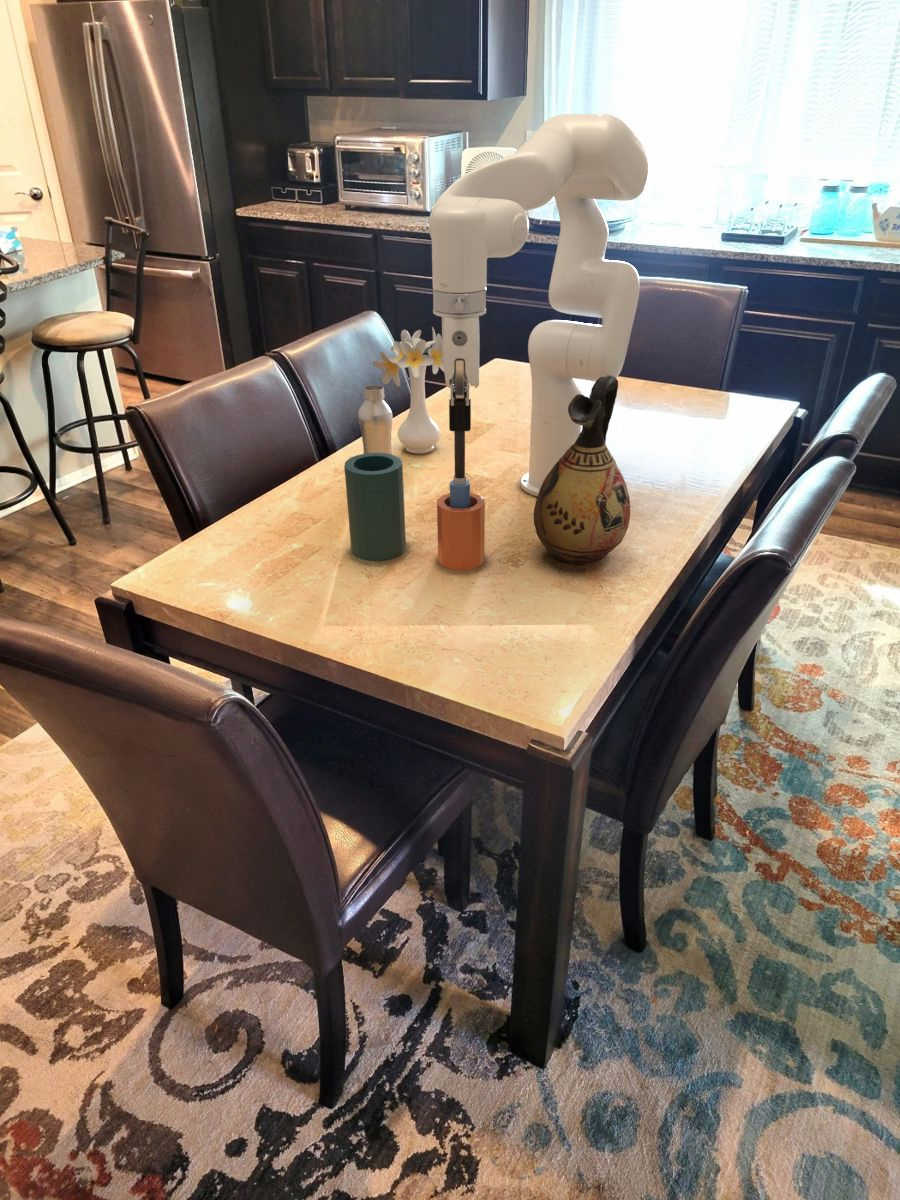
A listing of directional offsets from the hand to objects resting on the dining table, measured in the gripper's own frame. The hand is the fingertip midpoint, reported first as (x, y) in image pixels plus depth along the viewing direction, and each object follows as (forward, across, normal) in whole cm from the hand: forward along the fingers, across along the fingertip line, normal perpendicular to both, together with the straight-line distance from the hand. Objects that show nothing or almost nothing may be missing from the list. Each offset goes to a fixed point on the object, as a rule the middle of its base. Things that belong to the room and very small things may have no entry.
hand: (460, 427), depth 129 cm
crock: (+23, 0, 0) cm, 23 cm away
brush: (+17, 0, 0) cm, 17 cm away
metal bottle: (+23, +31, +16) cm, 42 cm away
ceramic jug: (+24, +2, -20) cm, 31 cm away
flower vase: (+23, +51, +9) cm, 57 cm away
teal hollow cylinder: (+23, +4, +14) cm, 28 cm away
